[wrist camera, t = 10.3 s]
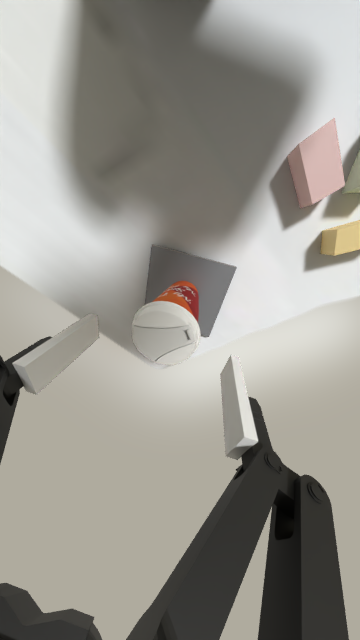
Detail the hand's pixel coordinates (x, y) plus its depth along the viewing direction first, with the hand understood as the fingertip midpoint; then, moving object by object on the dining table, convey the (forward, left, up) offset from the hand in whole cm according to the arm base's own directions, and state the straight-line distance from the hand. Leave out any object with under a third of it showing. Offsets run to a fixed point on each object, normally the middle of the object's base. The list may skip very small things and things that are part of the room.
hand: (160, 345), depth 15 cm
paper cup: (0, 0, -15) cm, 15 cm away
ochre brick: (-14, +19, -16) cm, 29 cm away
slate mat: (0, 0, -16) cm, 16 cm away
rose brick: (-19, +11, -16) cm, 27 cm away
